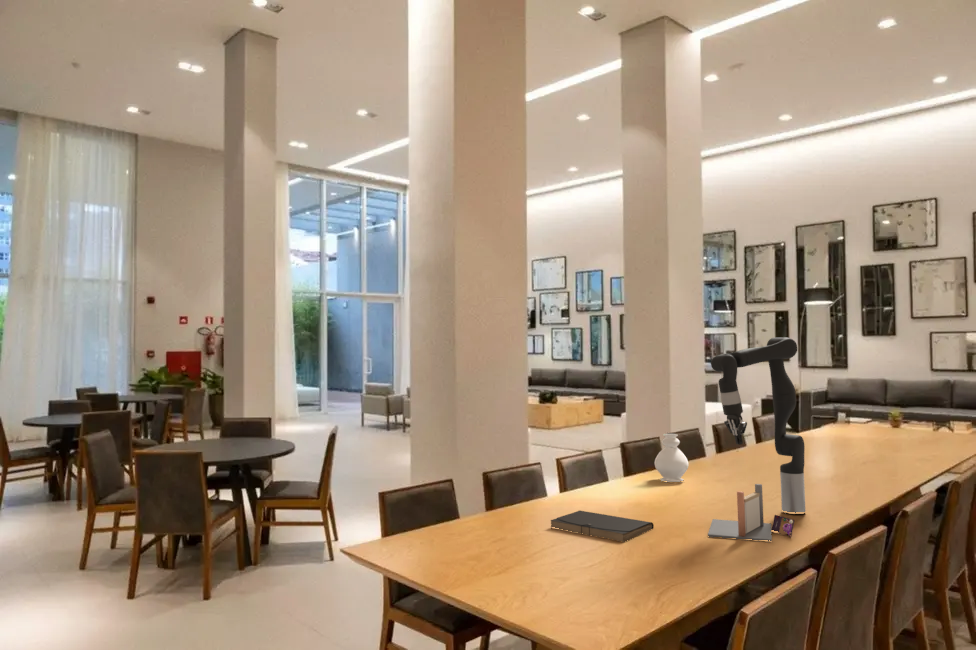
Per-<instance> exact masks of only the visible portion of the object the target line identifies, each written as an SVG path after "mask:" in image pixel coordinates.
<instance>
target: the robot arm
mask: <svg viewBox="0 0 976 650" xmlns="http://www.w3.org/2000/svg"><path fill="white" fill-rule="evenodd" d="M797 352H798V344H797V342H796V341H795V340H794V339H792V338H790V337H785V336H783V337H771V338H769V339H768V340H767V344H766V345H765V346H757V347H750V348H744V349H740V350H737V351H733V352H728V353H723V354H717V355H715V356H714V357H713V358H712V359H711V361H710V366H711V368H712V369H713V370H714V371H715V372H719V373H722V377H721V378H719V380H718V388H719V392H720V400H721V401H720V402H721V406H722V410H723V411H722V412H723V415H724V416H726V420H725V421H724V426H725V427H726V428H727V430H728V431H729V433H730V434H732V435H733V436H734V441H735V444H736V445H742V444H743V438H742V435H743V434H745V432H746V429H747V426H748V422H747V421H744V420H743V415H742V413H744V410H743V405H742V399H741V394H740V393H739V387H738V383H737V378H738V377H737V376H738V369H739V368H745V367H748V366H752V365H756V364H759V363H764V362H768V365H769V367H768V368H769V371H770V372H769V373H770V380H771V381H770V382H771V393H772V394H771V395H772V404H773V415H774V416H773V417H774V448H775V452H776V453H777V454H778V456H784V457H785V456H787V457H791V461H790V462H787V463H781V465H780V466H779V472H780V474H779V475H780V494H781V495H780V496H781V497H780V499H781V511H782V510H783V511H787V512H795V513H796V512H805V511H806V494H805V492H806V490H805V489H806V487H805V471H804V470H805V450H806V449H805V441H804V438H803V436H801V435H799V434H791V433H790V434H788V433H787V423H788V421H789V418H790V417H791V415H792V414H793V412H794V410H795V408H796V406H797V395H796V392H797V391H796V389H795V385H794V384H793V382H792V380H791V378H790V377H789V375H788V373H787V371H786V368H785V361H784V360H788V359H791V358H793V357H795V356H796V355H797Z"/></svg>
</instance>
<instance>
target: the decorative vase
mask: <svg viewBox="0 0 976 650" xmlns="http://www.w3.org/2000/svg"><path fill="white" fill-rule="evenodd" d="M662 436H663V437H664V438H663V439H662V440H661V444H662V445H663V446H664V447H663V448H662V449H661V450H660V451H659V452H658V454H657V455H656V457H655V459H654V467H655V469H656V471H657V472H658V473H659V474H660V475H661V478H660V479H659V480H661V481H660V482H662V481H667V482H680V481H683V480H684V481H685V479H684V478H682V477H683V476H684V475H685V473H687V471H688V469H689V460H688V457H686V455H685V454H684V452H683V451H682V450H681V449H680V448H679V447H678V446H679V445H680V443H681V441H680V440H679V438H677V437H678V436H679V435H678V433H663V435H662ZM667 482H666V483H667ZM680 483H681V482H680Z"/></svg>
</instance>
